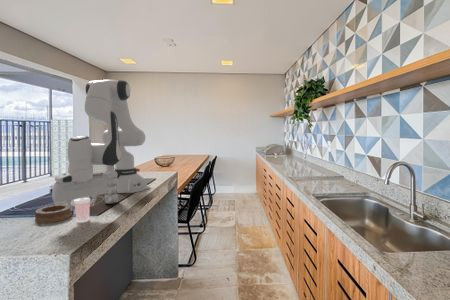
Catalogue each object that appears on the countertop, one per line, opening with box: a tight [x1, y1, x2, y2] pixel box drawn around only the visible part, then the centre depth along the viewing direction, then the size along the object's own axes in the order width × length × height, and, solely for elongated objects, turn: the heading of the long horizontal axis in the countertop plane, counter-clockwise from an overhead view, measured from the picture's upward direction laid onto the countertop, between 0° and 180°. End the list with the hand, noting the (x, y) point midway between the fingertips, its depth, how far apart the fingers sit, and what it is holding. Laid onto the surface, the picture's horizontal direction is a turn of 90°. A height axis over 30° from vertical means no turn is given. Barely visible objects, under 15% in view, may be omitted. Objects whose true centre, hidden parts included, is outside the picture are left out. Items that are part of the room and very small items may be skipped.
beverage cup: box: [74, 197, 91, 223], centre depth 102 cm, size 6×6×14 cm
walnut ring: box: [34, 204, 73, 224], centre depth 106 cm, size 12×12×4 cm
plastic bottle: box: [103, 165, 119, 205], centre depth 126 cm, size 6×7×20 cm
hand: (82, 207), depth 102 cm, fingers closed on beverage cup, 6 cm apart
